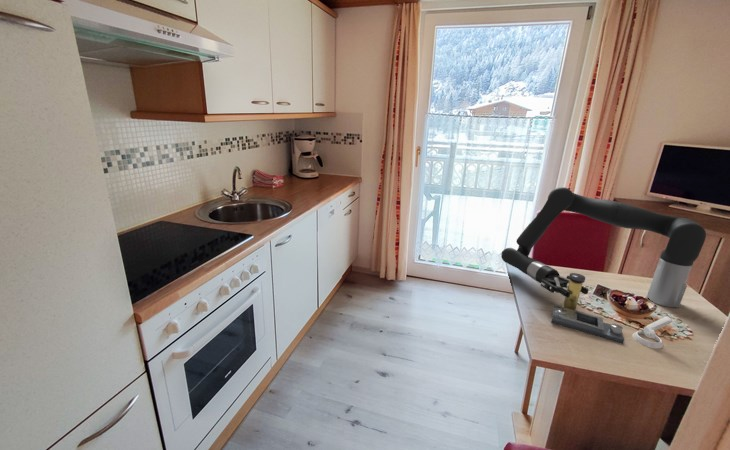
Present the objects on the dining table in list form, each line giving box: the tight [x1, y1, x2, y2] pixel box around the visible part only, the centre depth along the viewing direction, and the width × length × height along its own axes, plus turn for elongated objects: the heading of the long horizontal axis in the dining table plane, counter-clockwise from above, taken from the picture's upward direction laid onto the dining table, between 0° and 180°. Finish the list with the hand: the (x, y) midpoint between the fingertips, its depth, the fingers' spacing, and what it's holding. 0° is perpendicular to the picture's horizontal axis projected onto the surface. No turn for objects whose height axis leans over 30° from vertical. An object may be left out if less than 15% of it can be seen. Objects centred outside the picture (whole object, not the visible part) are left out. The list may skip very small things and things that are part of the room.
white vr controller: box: [632, 315, 673, 349], centre depth 104 cm, size 8×12×7 cm
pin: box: [562, 272, 586, 311], centre depth 119 cm, size 5×5×14 cm
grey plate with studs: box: [551, 304, 625, 345], centre depth 111 cm, size 20×8×3 cm, turn 58°
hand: (578, 293), depth 117 cm, fingers open, 8 cm apart
